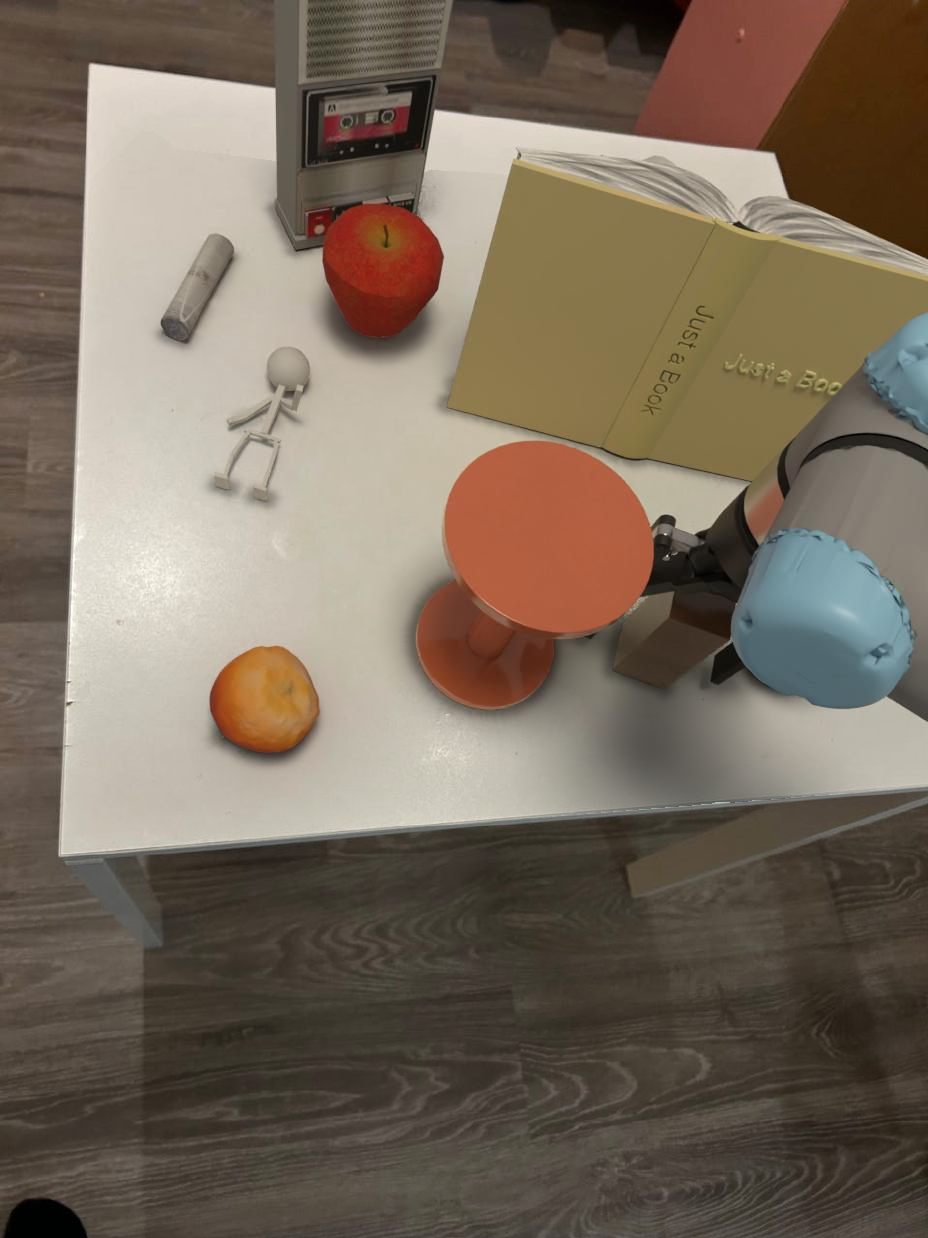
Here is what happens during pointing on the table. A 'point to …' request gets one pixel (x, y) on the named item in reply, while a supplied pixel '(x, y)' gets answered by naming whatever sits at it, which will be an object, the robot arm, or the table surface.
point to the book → (672, 312)
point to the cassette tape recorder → (353, 106)
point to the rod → (197, 287)
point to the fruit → (264, 700)
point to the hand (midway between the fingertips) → (653, 647)
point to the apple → (381, 267)
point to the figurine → (271, 408)
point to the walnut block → (672, 635)
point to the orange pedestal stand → (529, 569)
